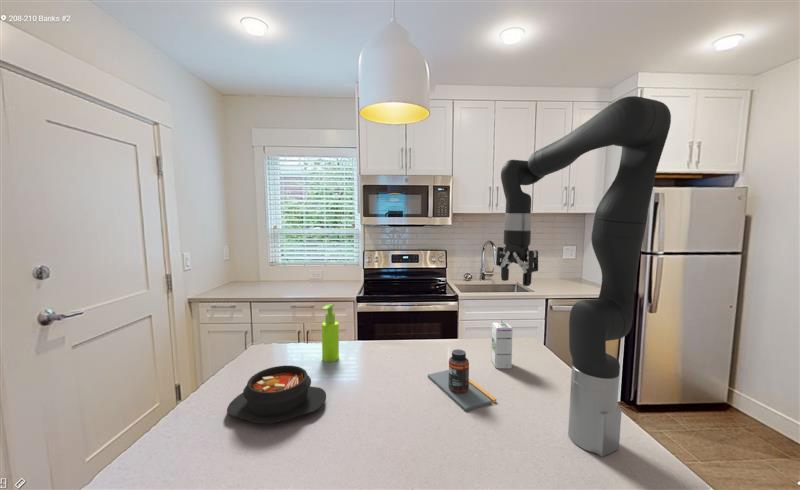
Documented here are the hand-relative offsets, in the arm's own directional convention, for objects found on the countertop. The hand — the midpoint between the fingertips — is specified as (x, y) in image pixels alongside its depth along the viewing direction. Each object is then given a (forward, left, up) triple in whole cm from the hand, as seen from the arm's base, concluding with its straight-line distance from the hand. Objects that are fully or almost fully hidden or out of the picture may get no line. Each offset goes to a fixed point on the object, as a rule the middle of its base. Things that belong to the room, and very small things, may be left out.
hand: (515, 283), depth 94 cm
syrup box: (+12, -7, -32) cm, 35 cm away
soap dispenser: (+41, +47, -32) cm, 70 cm away
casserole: (+17, +66, -32) cm, 75 cm away
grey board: (+5, +15, -32) cm, 36 cm away
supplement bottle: (+4, +17, -32) cm, 36 cm away
